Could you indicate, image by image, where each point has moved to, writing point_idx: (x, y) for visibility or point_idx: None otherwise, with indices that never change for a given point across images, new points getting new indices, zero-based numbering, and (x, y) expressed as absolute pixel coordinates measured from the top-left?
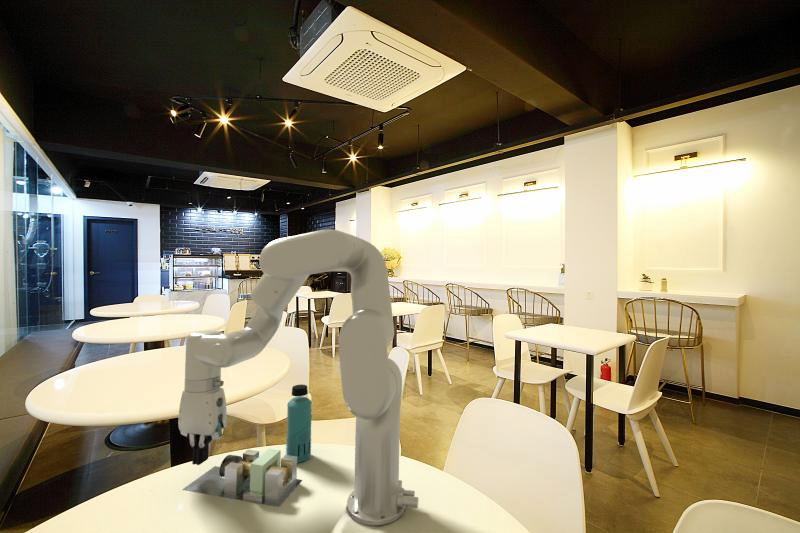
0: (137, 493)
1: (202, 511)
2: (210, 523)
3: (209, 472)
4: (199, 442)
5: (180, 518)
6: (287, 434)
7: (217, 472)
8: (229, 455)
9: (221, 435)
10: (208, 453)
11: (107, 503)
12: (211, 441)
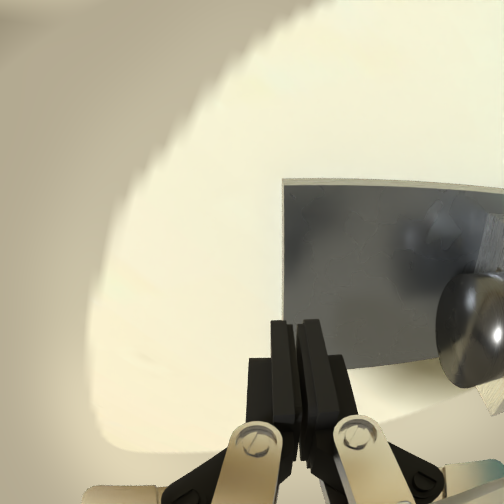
0: (125, 373)
1: (403, 383)
2: (441, 397)
3: (303, 249)
4: (326, 497)
5: (360, 413)
6: None
7: (348, 239)
8: (498, 362)
9: (499, 477)
10: (345, 367)
11: (109, 407)
12: (376, 422)
